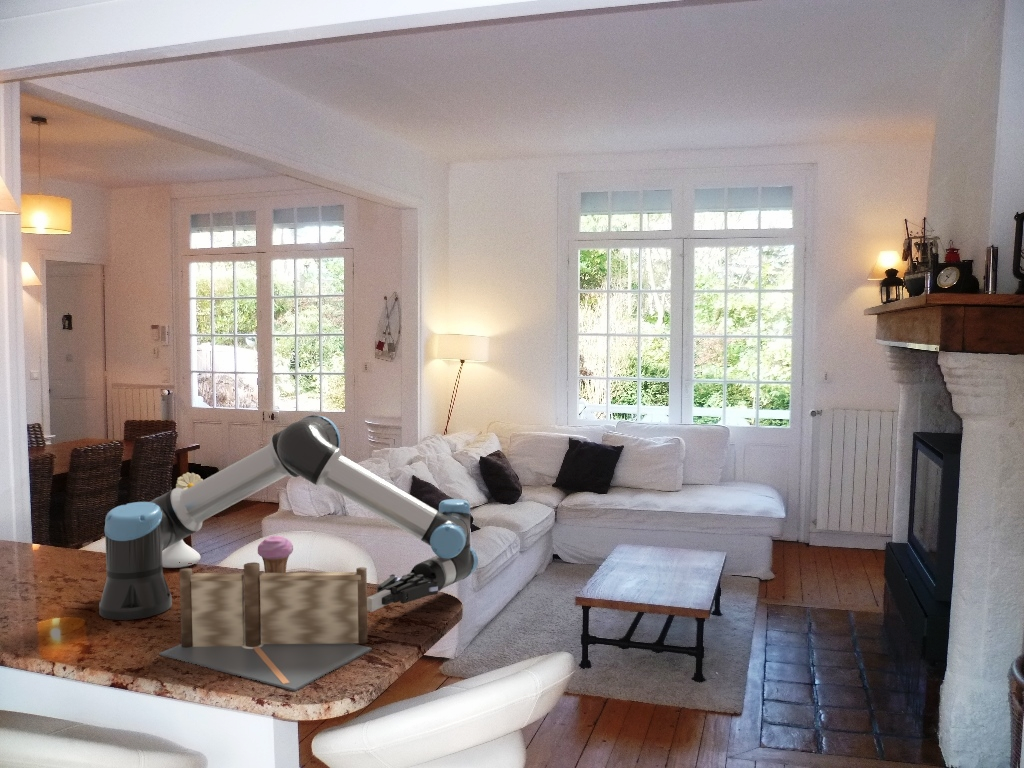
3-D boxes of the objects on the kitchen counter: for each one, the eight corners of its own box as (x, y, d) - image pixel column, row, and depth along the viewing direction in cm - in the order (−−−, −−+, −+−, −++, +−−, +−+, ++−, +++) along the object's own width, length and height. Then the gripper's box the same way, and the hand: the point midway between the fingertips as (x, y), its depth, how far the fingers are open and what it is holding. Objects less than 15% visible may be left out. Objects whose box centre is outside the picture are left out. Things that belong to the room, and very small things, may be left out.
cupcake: (257, 580, 219) (257, 541, 218) (258, 570, 227) (257, 533, 227) (294, 577, 221) (293, 538, 221) (293, 568, 230) (292, 531, 229)
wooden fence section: (179, 648, 172) (177, 567, 171) (184, 642, 175) (182, 562, 174) (258, 647, 173) (257, 566, 171) (262, 641, 176) (261, 562, 174)
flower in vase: (155, 573, 224) (153, 478, 223) (154, 562, 235) (152, 471, 233) (209, 568, 230) (206, 474, 228) (205, 557, 240) (203, 468, 238)
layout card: (159, 654, 170) (159, 652, 170) (243, 620, 189) (243, 618, 189) (295, 691, 153) (295, 688, 153) (372, 649, 172) (371, 647, 172)
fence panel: (261, 644, 173) (259, 570, 172) (263, 640, 175) (262, 567, 174) (366, 643, 174) (365, 570, 173) (367, 639, 176) (367, 567, 175)
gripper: (456, 595, 196) (394, 628, 176) (409, 587, 203) (344, 617, 182) (456, 563, 196) (394, 591, 175) (408, 555, 202) (343, 582, 181)
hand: (369, 604), depth 179 cm, fingers closed
